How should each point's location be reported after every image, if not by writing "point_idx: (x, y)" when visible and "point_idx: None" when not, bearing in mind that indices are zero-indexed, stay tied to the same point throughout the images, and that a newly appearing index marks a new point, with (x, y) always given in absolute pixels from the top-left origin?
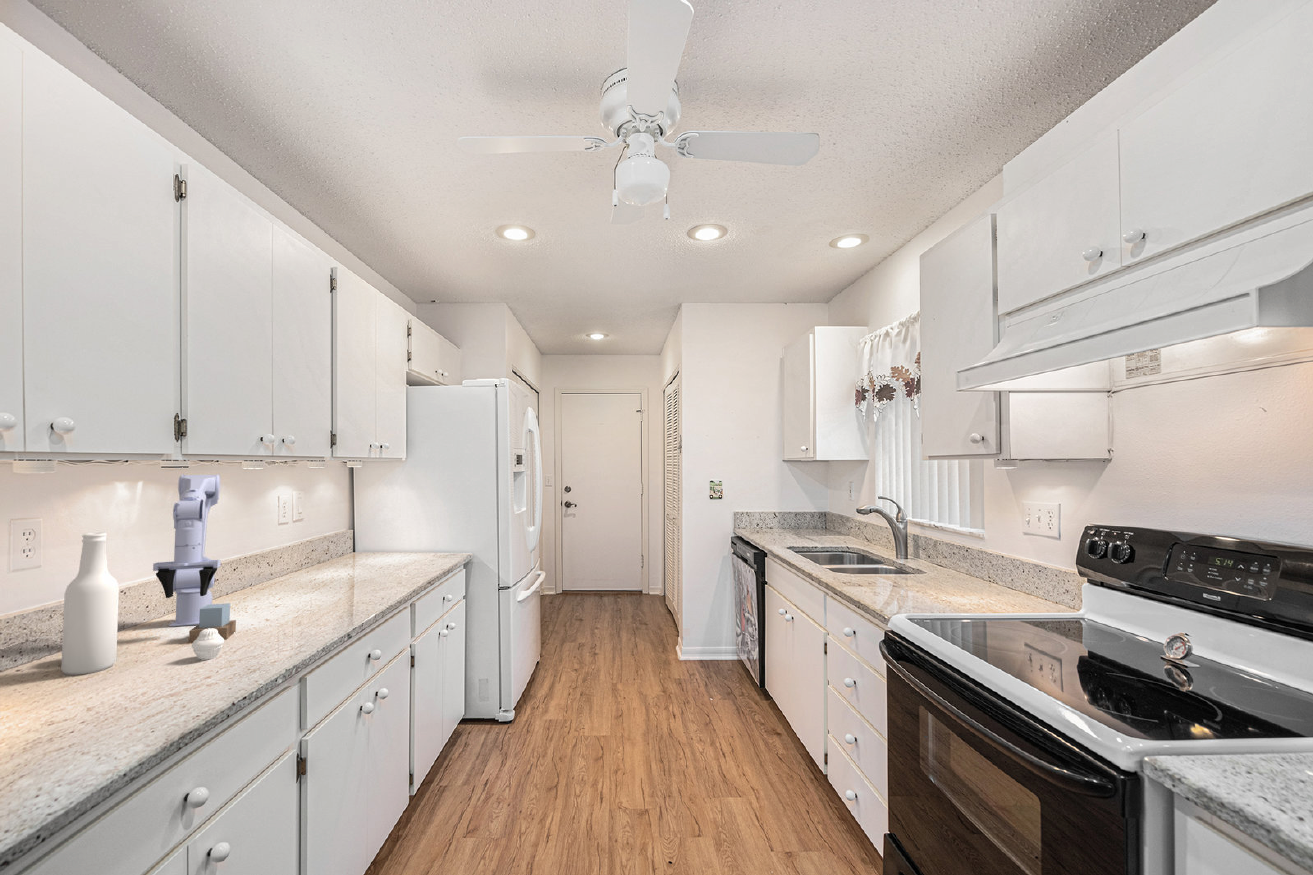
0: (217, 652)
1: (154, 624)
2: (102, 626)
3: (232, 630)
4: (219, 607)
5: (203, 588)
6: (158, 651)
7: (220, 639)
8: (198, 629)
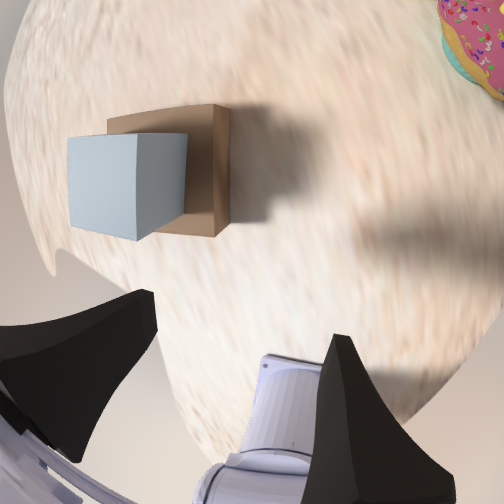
0: None
1: None
2: None
3: None
4: (75, 145)
5: (105, 304)
6: (298, 37)
7: None
8: (185, 117)
